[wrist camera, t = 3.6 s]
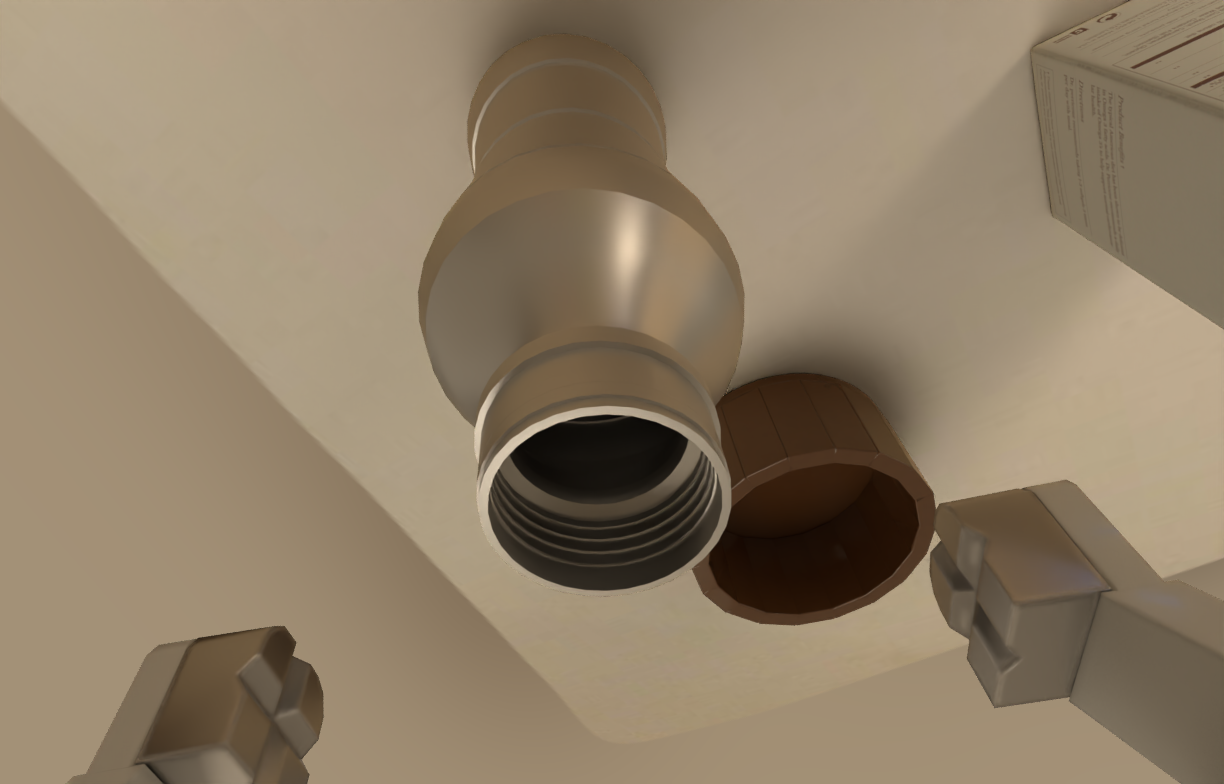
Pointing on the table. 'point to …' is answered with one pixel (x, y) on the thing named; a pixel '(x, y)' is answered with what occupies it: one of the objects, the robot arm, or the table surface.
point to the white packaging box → (1141, 140)
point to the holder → (813, 503)
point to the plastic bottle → (584, 325)
